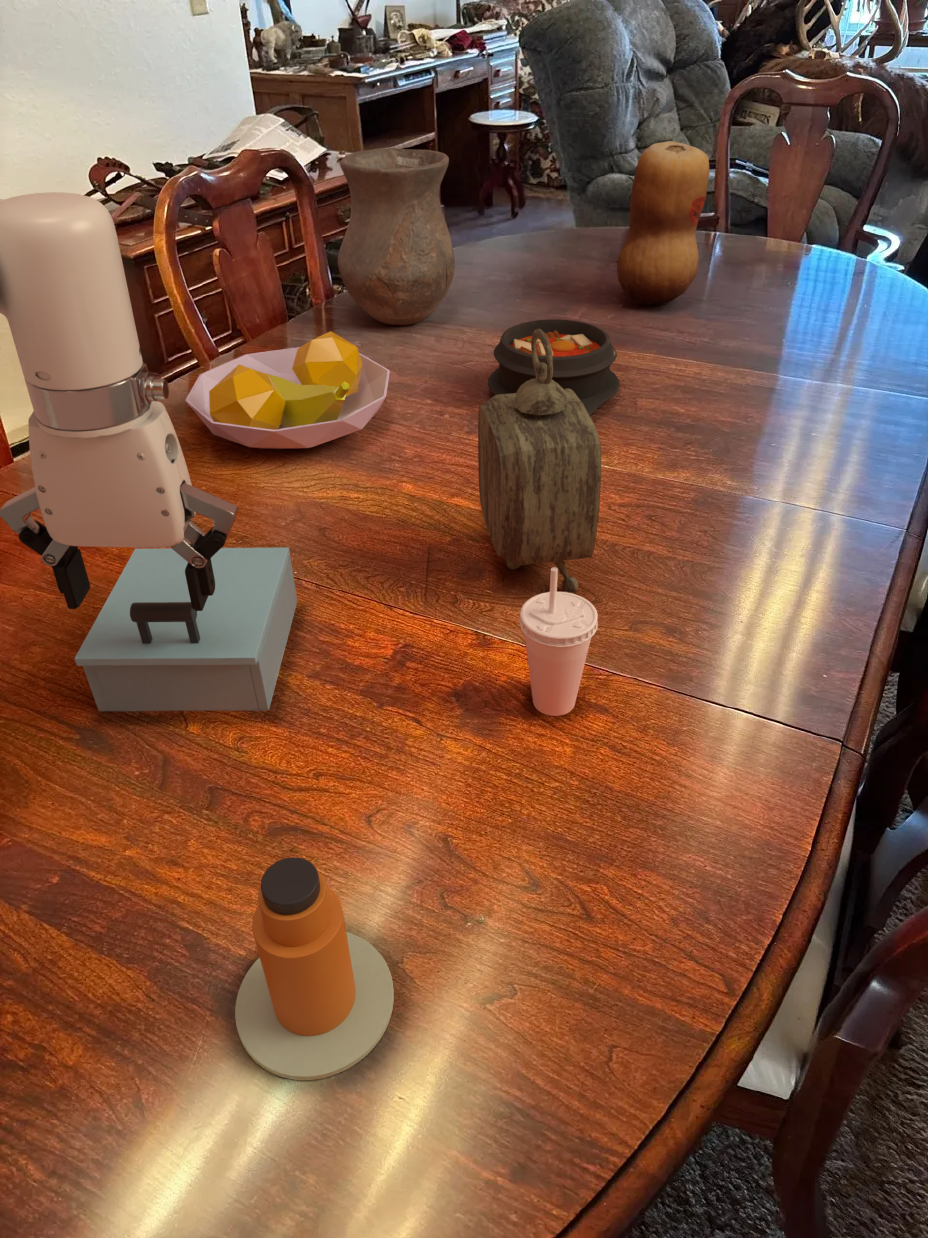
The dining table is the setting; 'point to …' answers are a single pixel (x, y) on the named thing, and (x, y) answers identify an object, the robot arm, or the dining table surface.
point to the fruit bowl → (291, 395)
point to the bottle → (303, 948)
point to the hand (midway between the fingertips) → (141, 599)
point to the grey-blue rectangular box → (201, 674)
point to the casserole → (558, 360)
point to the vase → (396, 234)
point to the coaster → (327, 1050)
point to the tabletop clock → (539, 472)
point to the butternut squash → (663, 223)
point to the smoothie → (557, 646)
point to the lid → (186, 611)
